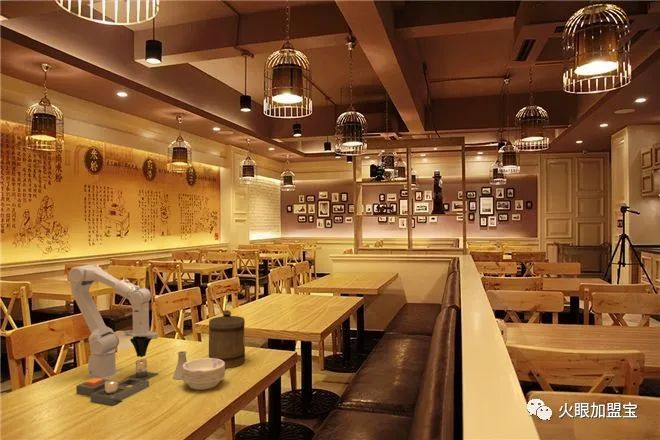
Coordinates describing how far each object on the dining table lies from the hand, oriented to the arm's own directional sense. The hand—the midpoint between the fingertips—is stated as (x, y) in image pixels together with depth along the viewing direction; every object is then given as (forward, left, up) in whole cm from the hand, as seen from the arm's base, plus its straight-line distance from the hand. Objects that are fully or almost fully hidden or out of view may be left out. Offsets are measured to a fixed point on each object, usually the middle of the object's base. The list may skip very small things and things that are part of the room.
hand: (141, 356), depth 172 cm
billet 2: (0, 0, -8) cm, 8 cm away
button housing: (-6, -16, -8) cm, 19 cm away
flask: (+15, +5, -9) cm, 18 cm away
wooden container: (+21, +26, -9) cm, 35 cm away
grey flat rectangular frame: (+5, -15, -8) cm, 18 cm away
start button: (-6, -16, -7) cm, 19 cm away
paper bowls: (+27, +2, -9) cm, 28 cm away
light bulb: (+5, -19, -8) cm, 21 cm away
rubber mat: (0, 0, -8) cm, 8 cm away
